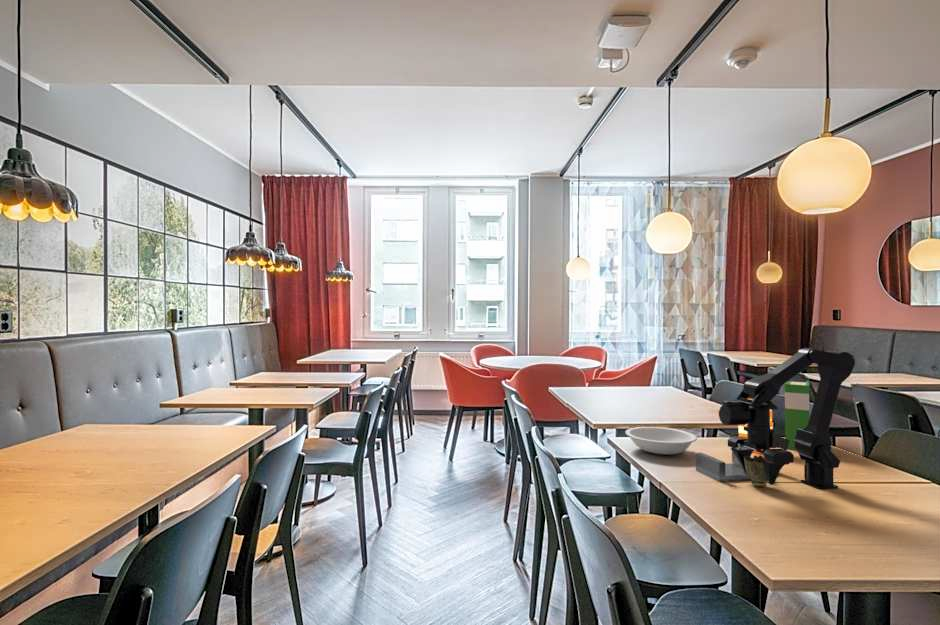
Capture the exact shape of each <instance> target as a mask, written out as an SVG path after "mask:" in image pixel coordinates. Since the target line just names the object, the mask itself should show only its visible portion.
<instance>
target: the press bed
mask: <svg viewBox="0 0 940 625" xmlns="http://www.w3.org/2000/svg"><path fill="white" fill-rule="evenodd" d="M695 470H696V472H699V473H701V474H702V475H705V476H707V477H709V478H711V479H714V480H715V481H717V482H719V481H720V482H734V481H736V480H737V481H745V480H746V481H748V480H747V479H750V478H749V477H748V476H747V474H745V473H744V471H743V469H742V467H741V466H739V465H736V464H734V463H732V462H731V463H726V461H723V460H720V459H718V458H715V457H713V456H710V455H709V454H706V453H703V452H695Z"/></svg>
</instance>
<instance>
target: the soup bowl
mask: <svg viewBox="0 0 940 625" xmlns="http://www.w3.org/2000/svg"><path fill="white" fill-rule="evenodd" d="M624 433H625V435H626V436H628V437H629V438H630V439H631V440H632V442H633V444H635V446H636V447H638V448H639V449H641V450H642V451H645V452H647V453H652V454H656V455H676V454H680V453H682V452H684V451H686V450H687V449H688V448H689V447H691V445H692V443H695V442H696V441H697V439H698V437H697V436H696V435H695V434H693V433H691V432H689V431H686V430H680V429H675V428H670V427H661V426H660V427H657V426H639V427H638V426H637V427H636V426H635V427H631V428H628V429H626V430H625V432H624Z"/></svg>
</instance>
